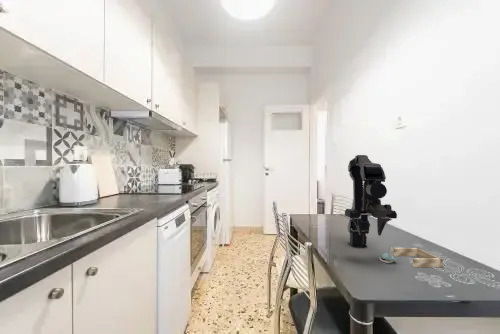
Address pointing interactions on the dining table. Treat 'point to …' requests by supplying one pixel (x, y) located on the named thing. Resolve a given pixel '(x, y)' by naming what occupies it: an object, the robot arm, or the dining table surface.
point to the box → (425, 259)
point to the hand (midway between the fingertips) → (369, 235)
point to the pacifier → (388, 256)
